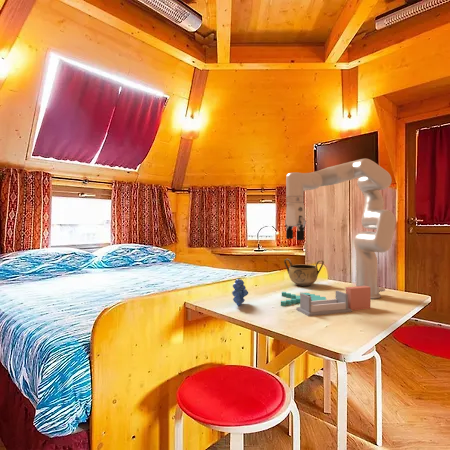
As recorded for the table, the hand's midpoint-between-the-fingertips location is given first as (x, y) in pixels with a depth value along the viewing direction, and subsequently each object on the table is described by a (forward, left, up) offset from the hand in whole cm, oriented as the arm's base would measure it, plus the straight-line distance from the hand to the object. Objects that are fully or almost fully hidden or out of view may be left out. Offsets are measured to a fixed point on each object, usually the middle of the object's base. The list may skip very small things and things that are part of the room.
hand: (294, 239), depth 140 cm
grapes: (+24, -4, -29) cm, 38 cm away
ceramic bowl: (-25, -35, -29) cm, 52 cm away
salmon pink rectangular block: (-22, +14, -29) cm, 39 cm away
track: (-6, +13, -29) cm, 32 cm away
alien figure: (-6, -3, -29) cm, 30 cm away
